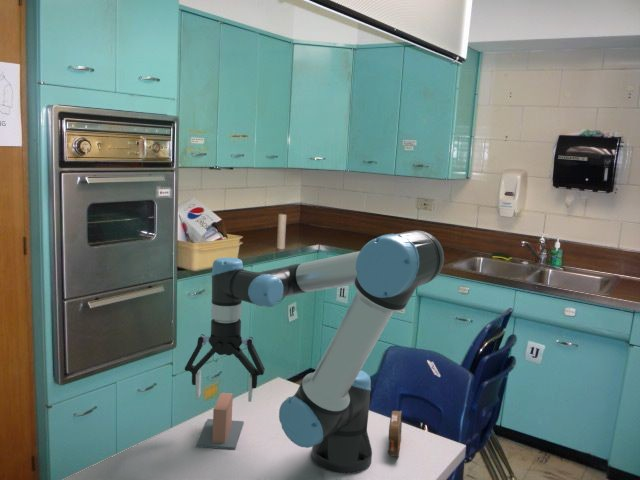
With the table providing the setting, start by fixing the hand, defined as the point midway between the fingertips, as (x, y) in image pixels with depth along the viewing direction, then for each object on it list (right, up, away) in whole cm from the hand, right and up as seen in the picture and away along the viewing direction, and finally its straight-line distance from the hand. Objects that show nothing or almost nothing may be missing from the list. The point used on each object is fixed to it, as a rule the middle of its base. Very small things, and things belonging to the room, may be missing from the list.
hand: (224, 398), depth 148 cm
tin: (+44, -14, +3) cm, 47 cm away
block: (-1, -5, +7) cm, 9 cm away
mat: (-2, -11, +4) cm, 11 cm away
